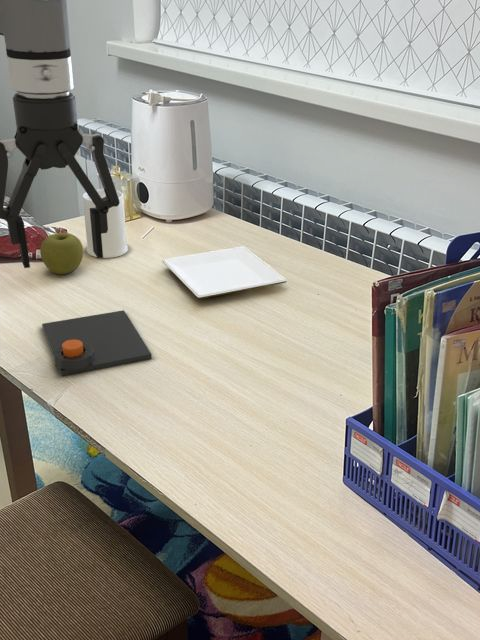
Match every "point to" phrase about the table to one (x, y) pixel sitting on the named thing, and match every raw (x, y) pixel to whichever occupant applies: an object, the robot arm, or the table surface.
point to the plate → (223, 271)
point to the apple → (61, 253)
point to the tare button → (72, 348)
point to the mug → (116, 233)
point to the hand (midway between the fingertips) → (62, 259)
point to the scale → (96, 342)
